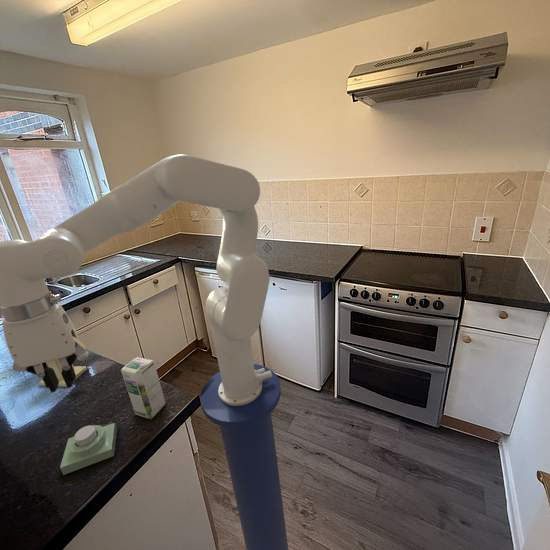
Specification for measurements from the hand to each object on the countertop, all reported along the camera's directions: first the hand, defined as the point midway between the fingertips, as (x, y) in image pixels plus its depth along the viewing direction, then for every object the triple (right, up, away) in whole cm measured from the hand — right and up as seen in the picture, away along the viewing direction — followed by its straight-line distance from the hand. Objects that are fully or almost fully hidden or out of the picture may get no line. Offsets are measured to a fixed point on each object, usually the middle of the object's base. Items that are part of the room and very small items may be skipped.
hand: (63, 384), depth 62 cm
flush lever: (-19, -3, +30) cm, 36 cm away
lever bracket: (-23, -10, +33) cm, 42 cm away
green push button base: (+2, -18, +7) cm, 19 cm away
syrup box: (+11, -13, +17) cm, 24 cm away
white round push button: (+1, -14, +6) cm, 16 cm away
